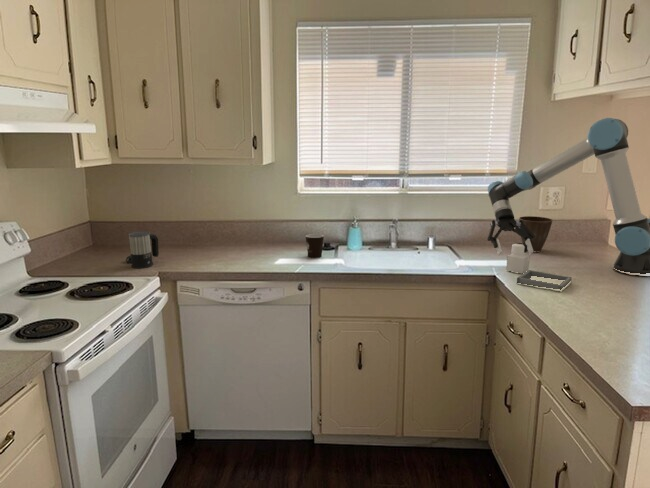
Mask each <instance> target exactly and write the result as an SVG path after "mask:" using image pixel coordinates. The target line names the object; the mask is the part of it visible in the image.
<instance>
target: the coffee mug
mask: <svg viewBox="0 0 650 488" xmlns="http://www.w3.org/2000/svg"><path fill="white" fill-rule="evenodd" d="M324 236H325V235H324V234H321V233H309V234H306V235H305V242H306V250H307V257H308V258H311V259H317V258H318V259H319V258H321V257H322V254H323V247H324Z"/></svg>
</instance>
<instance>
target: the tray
mask: <svg viewBox="0 0 650 488" xmlns="http://www.w3.org/2000/svg"><path fill="white" fill-rule="evenodd" d="M531 276H537V277H544V278H551V279H558V280H565V281H563V282H562V283H561V284H560V285H558V284H553V283H547V282H542V281H536V280H531V279H530V278H531ZM572 278H573V277H572V276H568V275H567V276H565V275H560V274H555V273H554V274H553V273H547V272H543V271H536V270H533V269H532V270H530V269H529V270H528V271H527V272H525V273H524V274H520V275H519V276H518V277H517V278H516V284H517V283H521V284H527V285H533V286H538V287H546V288H553V289H560V290H561V289H562V288H563V287H565V286H566V285H567V284H568V283H569V282H570V281H571V282H572Z"/></svg>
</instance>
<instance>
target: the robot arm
mask: <svg viewBox="0 0 650 488" xmlns="http://www.w3.org/2000/svg"><path fill="white" fill-rule="evenodd" d="M628 135H629V128H628V126H627V124H626V122H624V121H623V120H621V119H617V118H612V117H604V118H601V119H599V120H597V121H596V122H594V123H593V124H592V125H591V126H590V128H589V129H588V132H587V136H586V138H585V139H583V140H581V141H579V142H577V143H575V144H574V145H572V146H571V147H568V148H567V149H565V150H564V151H561V152H560V153H558V154H556V155H555V156H553V157H551V158H550V159H547V160H546V161H544V162H542V163H541V164H539V165H537V166H535V167H534V168H532V169H530V170H528V171H527V170H523V171H520V172H519V173H516V174H515V175H514V176H512V177H510V178H508V179H507V180H506V181H504V182H503V181H501V180H497V181H493V182H491V183H489V185H488V186H487V192H488V197H489V200H490V203H491V207H492V210H493V213H494V217H495V219H493V220H492V221H491V222H490V229H489V233H488V236H487V241H488V242H491V243H492V244H493V248H494V249H496V252H497V256H501V255H502V254H503V250H502V246H501V243H500V240H499V238H498V237H499V236H500V234H501V233H502V232H503V231H504V232H513V233H515V234H517V235H518V236H519V237H520V238H521V237H522V238H523V239H525V240H526V241H525V243H526V245H527V249H528V251H527V253H528V255H530V256H532V255H533V253H535V252H534V251H533V248H532V246H533V243H532V240H533V239H534V237H535V235H534V234H533V233H532V232H531V231H530V230H529V229H528V228H527V227H526V226H525V225H524V223H523V221H522V220H520V221H519V220H516V219H515V215H514V213H513V209H512V206H511V203H510V202H511V201H510V200H509V199H510V198H512V197H514V196H516V195H518V194H520V193H522V192H525V191H529V190H533V189H534V188H536V187H537V186H539V185H540V184H542V183H544V182H546V181H548V180H550V179H552V178H554V177H555V176H557V175H559V174H561V173H562V172H564V171H566V170H568V169H570V168H572V167H574V166H576V165H577V164H579V163H581V162H583V161H585V160H586V159H589V158H591V157H593V156H594V157H595V158H596V159H598V160H600V163H601V166H602V170H603V174H604V178H605V182H606V186H607V189H608V193H609V197H610V201H611V205H612V209H613V212H614V216H615V220H614V221H613V223H612V226H613V231H614V234H615V236H614V244H615V247H616V248H617V250H618V251H619V254H618V256H617V258H616V260H615V262H614V264H613V268H615V269H617V270H620V271H624V272H630V273H640V274H646V273H650V218H648V216H646V215H645V214H643V213H642V212H641V211H642V210H641V208H640V204H639V200H638V197H637V196H638V195H637V192H636V188H635V185H634V180H633V176H632V173H631V169H630V165H629V161H628V157H627V155H626V154H627V152H628V151H629V149H630V145H629V142H628ZM495 220H496V221H495ZM496 226H497V227H498V228H499V229H498V231H497V232H496V233H495V235H494V232H495V227H496ZM493 235H494V236H493Z"/></svg>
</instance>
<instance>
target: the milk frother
mask: <svg viewBox="0 0 650 488" xmlns="http://www.w3.org/2000/svg"><path fill="white" fill-rule="evenodd" d="M128 240H129V248H130V255H129V256H127V257H126V258H125V262H126V263H128V264H131V268H132V269H145V268H150V267H153V265H154V262H153V257H154V258H158V257H159V256H160V255H159V238H158V236H157V235H156V234H152V233H151V232H150V231H133V232H131V233H130V232H129V233H128Z"/></svg>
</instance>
